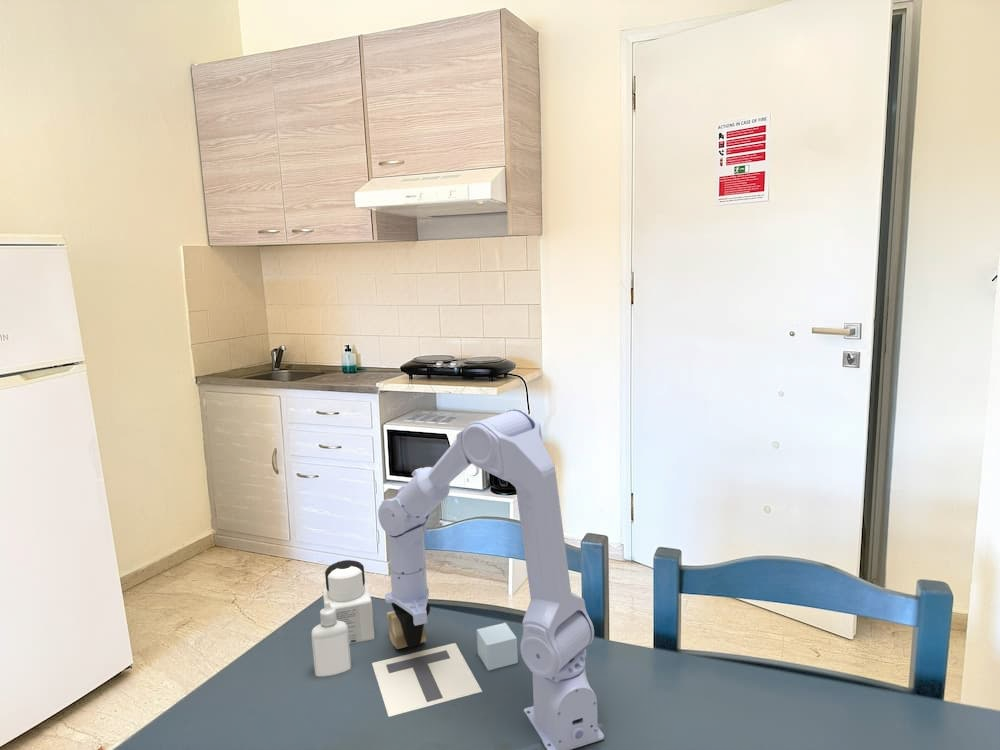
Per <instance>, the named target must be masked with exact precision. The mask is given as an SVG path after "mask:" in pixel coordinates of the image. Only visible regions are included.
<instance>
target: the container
mask: <svg viewBox="0 0 1000 750" xmlns="http://www.w3.org/2000/svg"><path fill="white" fill-rule="evenodd" d="M324 577H325V586H326V588H323V590H322V594H323V595H322V596H323V598H322V599H323V606H324V605H325V602H326V601H329V602H330V606H331V607H334V608H335V609H336V618H337V620H338V621H343V622H345V623H346V624H347V627H348V635H349V645H351V644H356V643H359V642H360V643H361V642H364V641H365V642H366V641H371V640H374V639H375V627H374V614H373V603H372V597H371V594H370V593H371V592H370V590H369V586H368V582H367V581H366V579H365V567H364V565H363V564H362V562H359V561H357V560H351V559H346V560H339V561H337V562H335V563H332V564H331V565H329V566H328V567H327V568H326V569H325V571H324Z"/></svg>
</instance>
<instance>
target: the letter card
mask: <svg viewBox="0 0 1000 750" xmlns="http://www.w3.org/2000/svg"><path fill="white" fill-rule="evenodd" d="M460 650H461V649H459V647H458V645H457V643H456V642H454V643H448V644H445V645H441V646H437V647H432V648H428V649H425V650H420V651H416V652H412V653H409V654H405V655H399V656H395V657H392V658H388V659H387V658H386V659H383V660H378V661H376V662H375V661H374V662H371V664H372V668H373V671H374V674H375V675H374V676H375V678H376V680H377V684H378V687H379V691H380V694H381V696H382V700H383V703H384V707H385V709H386V713H387V717H389V718H390V717H394V716H397V715H401V714H404V713H408V712H411V711H417V710H419V709H423V708H427V707H431V706H434V705H437V704H441V703H445V702H449V701H452V700H456V699H459V698H463V697H467V696H472V695H474V694H478V693H483V690H482V688H481V686H480V685H479V683H478V681H477V680H476V678H475V675H474V674H473V672H472V670H471V669H470V667H469V664H468V663H467V661H466V660H465V658H464V656H463V654H462V653H461V651H460Z"/></svg>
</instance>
